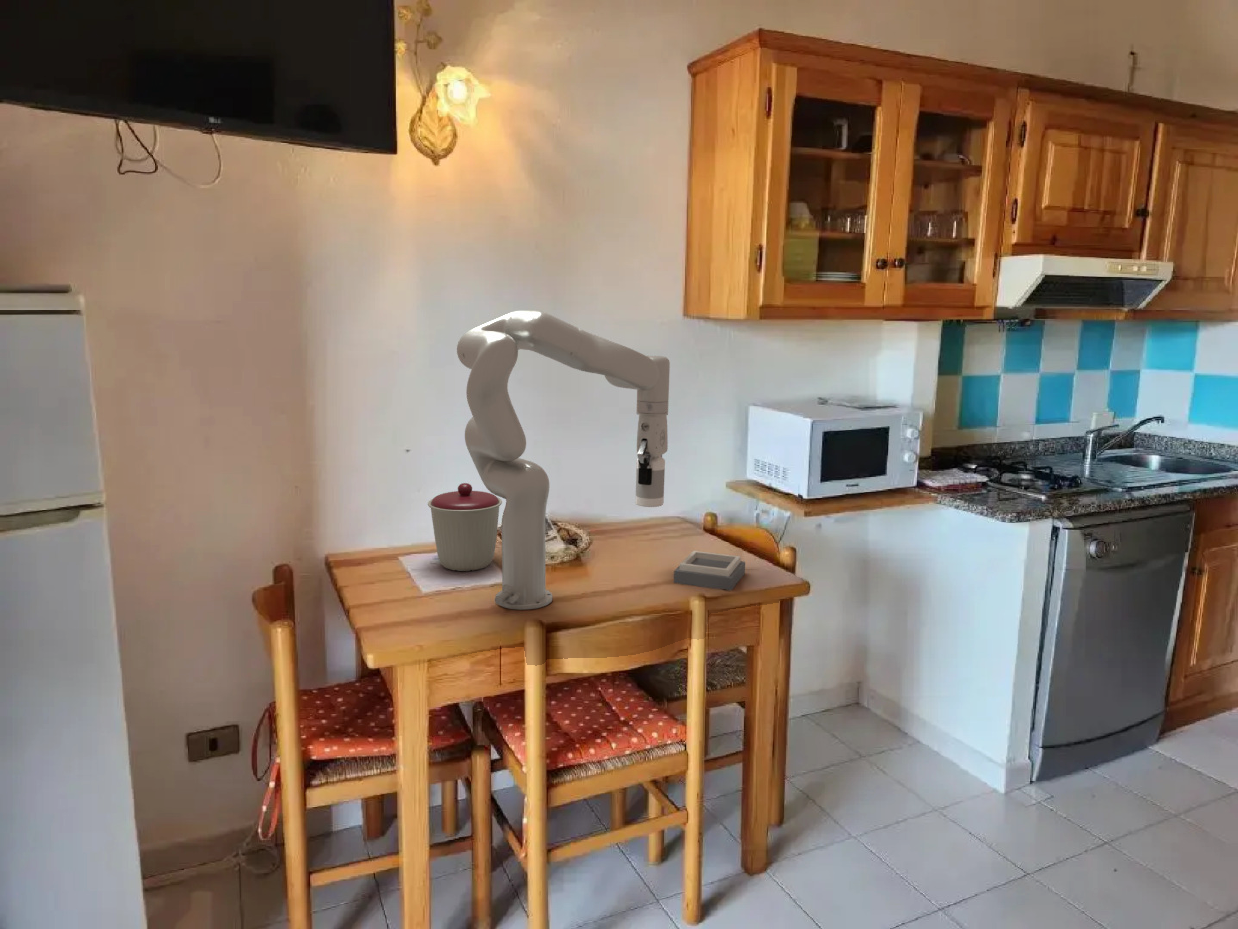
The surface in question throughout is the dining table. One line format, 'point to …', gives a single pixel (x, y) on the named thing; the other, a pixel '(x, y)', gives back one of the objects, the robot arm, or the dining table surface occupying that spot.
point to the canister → (465, 527)
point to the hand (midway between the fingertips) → (650, 481)
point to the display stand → (710, 570)
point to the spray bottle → (652, 485)
